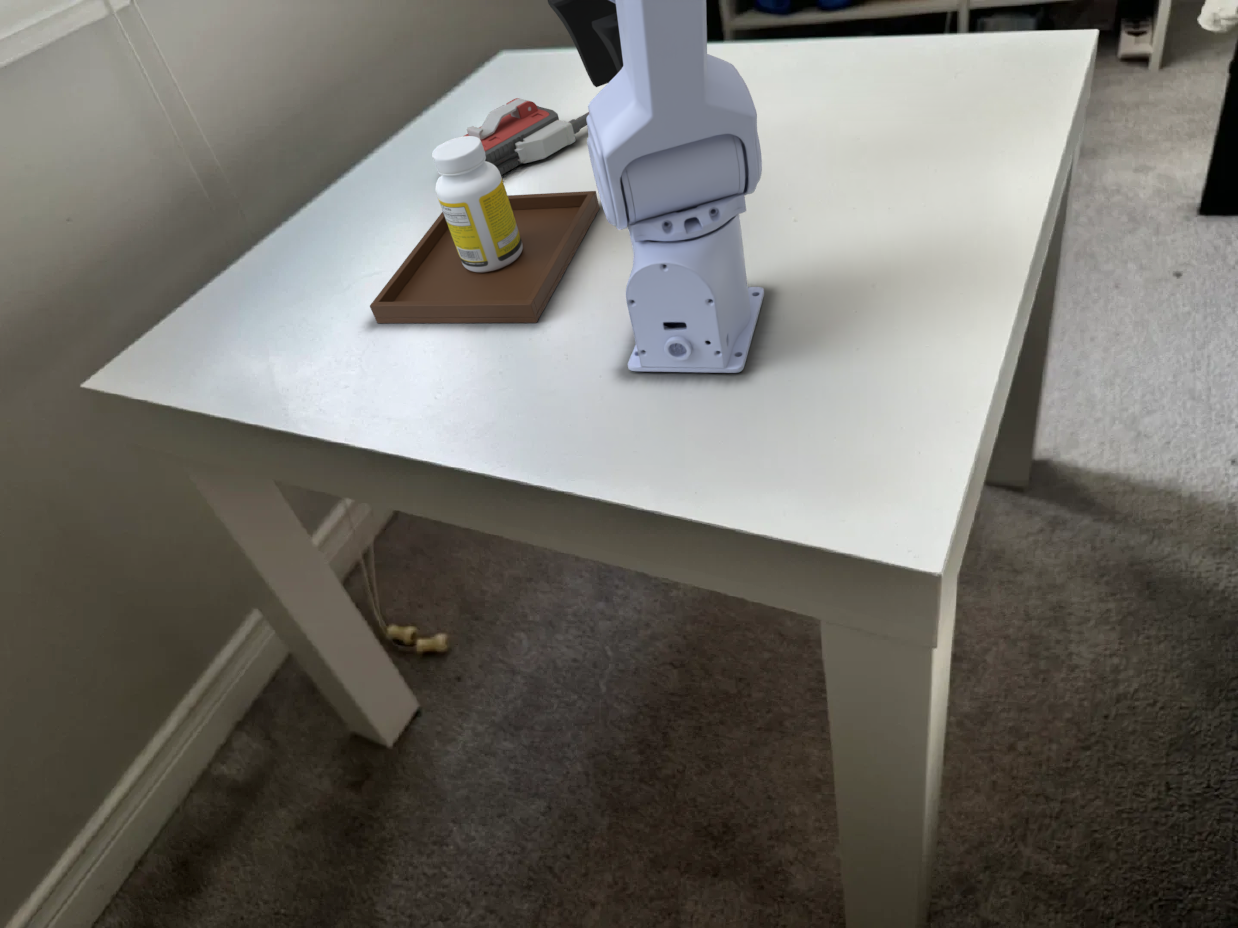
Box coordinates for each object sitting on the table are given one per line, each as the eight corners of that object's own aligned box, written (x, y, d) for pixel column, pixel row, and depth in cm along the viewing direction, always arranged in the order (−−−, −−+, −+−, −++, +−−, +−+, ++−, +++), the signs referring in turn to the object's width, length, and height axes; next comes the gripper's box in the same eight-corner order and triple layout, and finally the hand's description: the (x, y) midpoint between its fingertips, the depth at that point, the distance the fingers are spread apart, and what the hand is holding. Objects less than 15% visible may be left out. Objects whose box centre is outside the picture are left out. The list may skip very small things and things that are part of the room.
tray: (536, 322, 69) (530, 304, 68) (377, 323, 73) (369, 305, 72) (599, 207, 80) (595, 190, 79) (458, 214, 85) (452, 197, 84)
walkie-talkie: (484, 199, 86) (632, 112, 94) (469, 155, 83) (624, 69, 91) (433, 180, 91) (578, 99, 99) (419, 138, 88) (569, 58, 96)
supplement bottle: (521, 233, 78) (488, 124, 72) (527, 264, 74) (492, 151, 68) (461, 250, 78) (422, 142, 72) (463, 281, 74) (422, 170, 68)
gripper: (688, -109, 57) (714, 103, 66) (598, -131, 67) (632, 55, 76) (587, -75, 56) (628, 136, 65) (512, -102, 66) (556, 83, 75)
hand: (625, 95), depth 70 cm, fingers open, 7 cm apart
